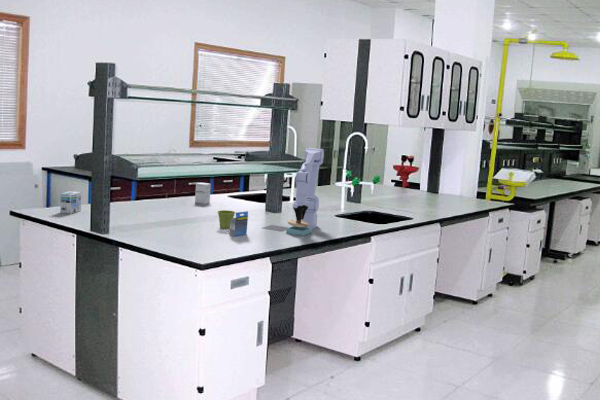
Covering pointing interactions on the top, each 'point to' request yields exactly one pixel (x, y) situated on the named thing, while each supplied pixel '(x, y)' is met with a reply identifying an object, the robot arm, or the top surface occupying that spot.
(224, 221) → the plant pot
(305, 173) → the robot arm
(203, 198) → the supplement box
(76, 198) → the light bulb box
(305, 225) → the lid
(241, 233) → the label tape box
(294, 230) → the dish
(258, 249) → the top surface
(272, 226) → the mat
